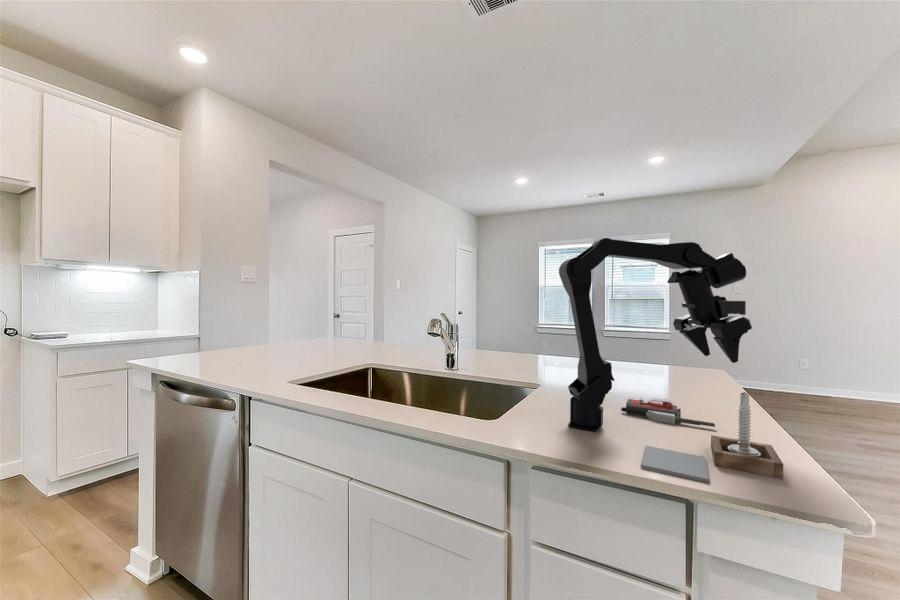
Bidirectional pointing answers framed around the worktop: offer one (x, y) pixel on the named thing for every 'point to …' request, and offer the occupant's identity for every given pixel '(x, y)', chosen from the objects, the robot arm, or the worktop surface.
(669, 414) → the walkie-talkie
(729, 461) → the square wooden frame
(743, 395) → the screw
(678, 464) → the mat
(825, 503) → the worktop surface
